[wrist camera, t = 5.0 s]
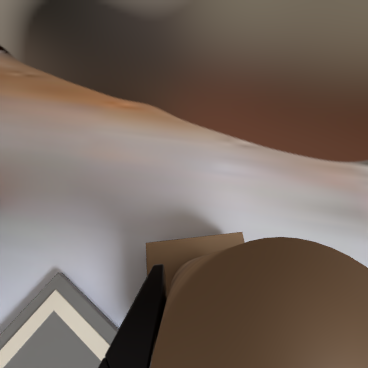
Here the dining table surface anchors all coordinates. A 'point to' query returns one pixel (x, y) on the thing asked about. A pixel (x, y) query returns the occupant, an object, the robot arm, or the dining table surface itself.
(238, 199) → the dining table surface
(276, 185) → the dining table surface
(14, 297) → the dining table surface
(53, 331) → the marked board
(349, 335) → the walnut stamp
